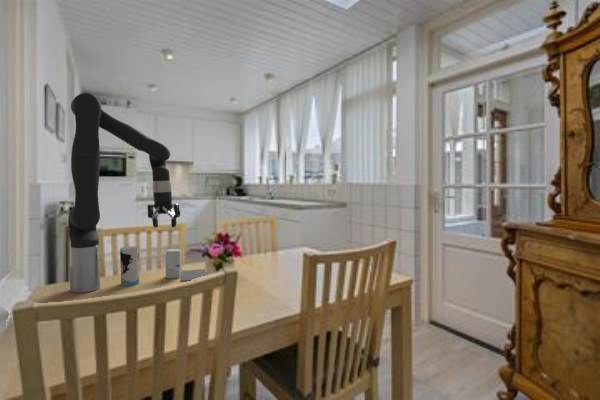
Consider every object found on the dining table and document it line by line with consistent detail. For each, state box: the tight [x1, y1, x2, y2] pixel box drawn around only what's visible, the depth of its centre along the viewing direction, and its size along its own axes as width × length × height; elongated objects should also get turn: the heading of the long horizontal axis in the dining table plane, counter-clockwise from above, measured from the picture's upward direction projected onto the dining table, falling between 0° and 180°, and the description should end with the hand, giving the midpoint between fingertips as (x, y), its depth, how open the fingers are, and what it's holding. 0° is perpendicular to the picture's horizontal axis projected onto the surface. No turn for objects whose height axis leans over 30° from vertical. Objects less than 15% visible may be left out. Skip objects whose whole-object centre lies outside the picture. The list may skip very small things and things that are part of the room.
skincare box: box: [165, 248, 183, 279], centre depth 147 cm, size 6×4×12 cm
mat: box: [180, 268, 207, 282], centre depth 150 cm, size 12×16×1 cm
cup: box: [119, 245, 140, 287], centre depth 137 cm, size 7×7×15 cm
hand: (164, 227), depth 148 cm, fingers open, 8 cm apart
